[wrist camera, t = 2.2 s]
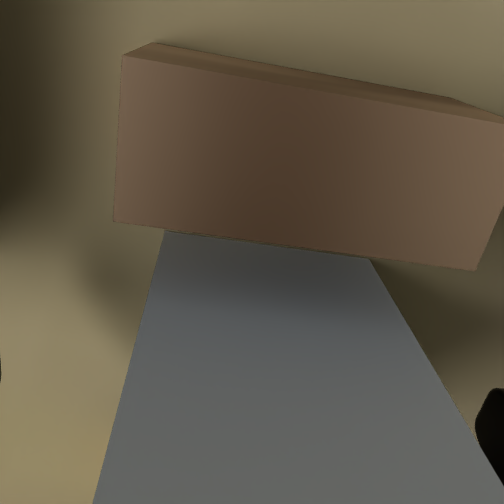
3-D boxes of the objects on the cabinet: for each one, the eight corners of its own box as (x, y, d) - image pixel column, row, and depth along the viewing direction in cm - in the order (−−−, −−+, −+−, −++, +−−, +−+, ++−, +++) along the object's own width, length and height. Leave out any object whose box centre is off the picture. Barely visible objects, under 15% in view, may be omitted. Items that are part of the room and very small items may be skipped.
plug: (368, 259, 10) (770, 935, 3) (321, 410, 11) (481, 1060, 4) (164, 231, 9) (-32, 977, 2) (147, 393, 11) (7, 1099, 4)
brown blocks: (449, 97, 8) (536, 129, 6) (311, 504, 13) (329, 609, 10) (152, 42, 8) (122, 55, 5) (116, 490, 12) (92, 599, 10)
